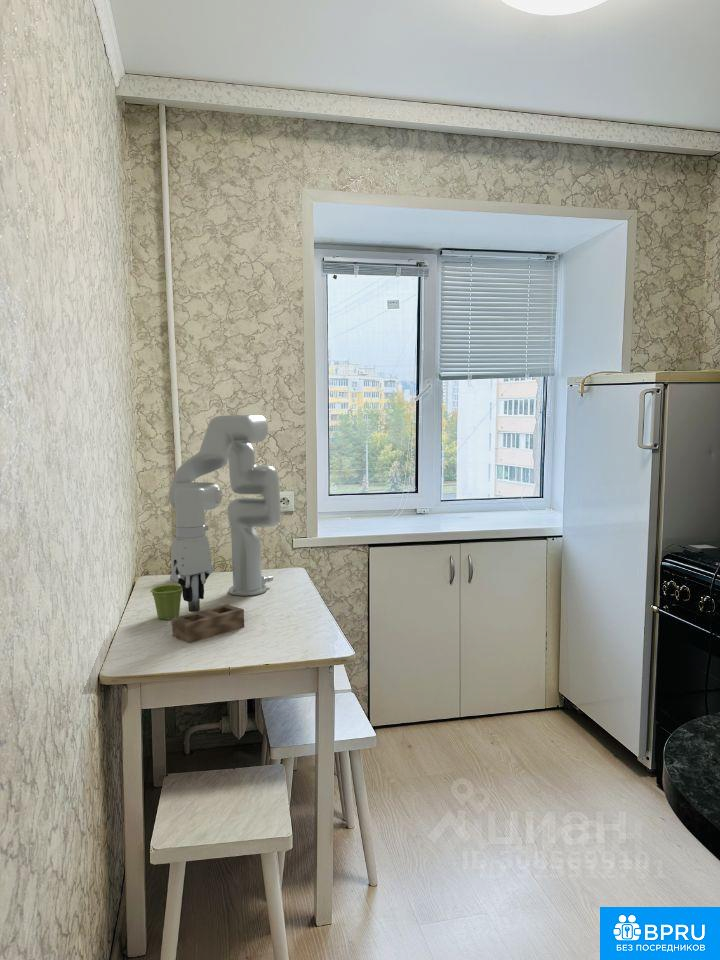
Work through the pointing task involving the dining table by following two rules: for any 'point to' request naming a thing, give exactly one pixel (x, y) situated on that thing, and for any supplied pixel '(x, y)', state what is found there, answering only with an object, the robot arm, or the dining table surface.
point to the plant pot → (167, 600)
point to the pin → (194, 594)
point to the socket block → (207, 623)
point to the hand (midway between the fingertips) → (193, 598)
